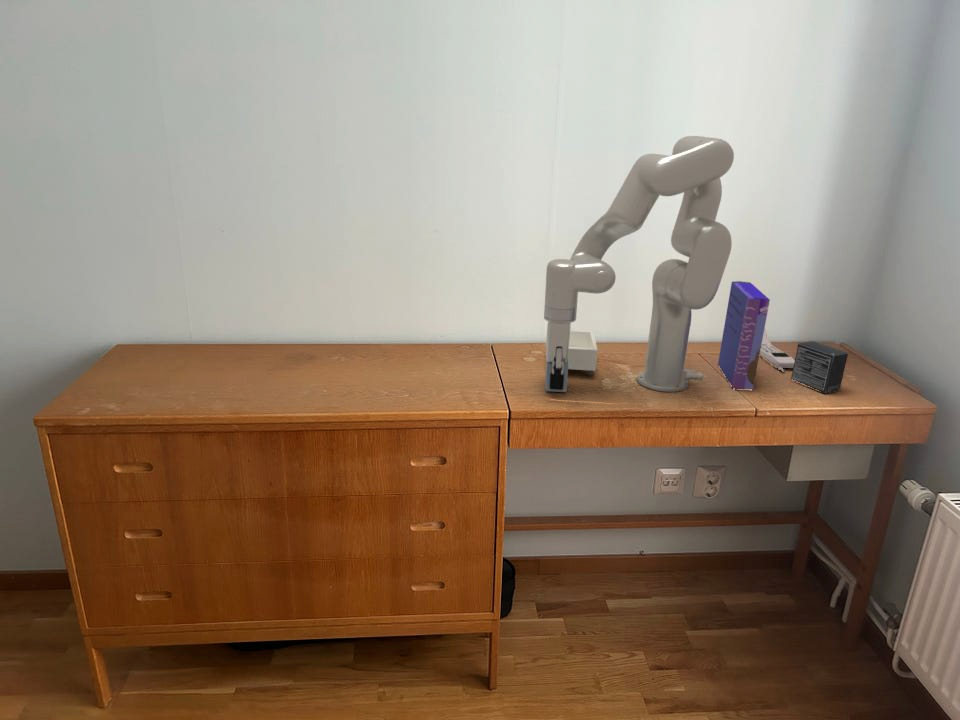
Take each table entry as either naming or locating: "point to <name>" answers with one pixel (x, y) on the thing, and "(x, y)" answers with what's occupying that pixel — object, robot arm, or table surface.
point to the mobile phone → (775, 354)
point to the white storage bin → (582, 351)
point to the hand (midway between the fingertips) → (555, 383)
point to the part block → (549, 370)
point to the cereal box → (743, 334)
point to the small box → (819, 366)
